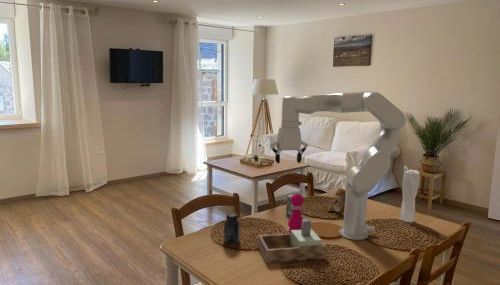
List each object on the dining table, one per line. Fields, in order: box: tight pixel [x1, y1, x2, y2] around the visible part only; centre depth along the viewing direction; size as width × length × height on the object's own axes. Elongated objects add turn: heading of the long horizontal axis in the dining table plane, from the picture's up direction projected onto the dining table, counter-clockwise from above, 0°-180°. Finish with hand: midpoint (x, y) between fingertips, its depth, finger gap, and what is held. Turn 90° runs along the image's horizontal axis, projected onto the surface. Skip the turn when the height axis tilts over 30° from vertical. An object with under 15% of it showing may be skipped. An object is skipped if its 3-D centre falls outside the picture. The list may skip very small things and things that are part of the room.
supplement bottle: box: [223, 212, 241, 245], centre depth 159 cm, size 7×7×12 cm
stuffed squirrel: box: [326, 187, 346, 214], centre depth 200 cm, size 10×14×13 cm
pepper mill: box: [287, 190, 305, 234], centre depth 168 cm, size 7×7×20 cm
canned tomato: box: [285, 193, 303, 219], centre depth 190 cm, size 8×8×11 cm
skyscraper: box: [398, 165, 420, 223], centre depth 186 cm, size 8×8×28 cm
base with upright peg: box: [290, 218, 322, 247], centre depth 151 cm, size 9×11×12 cm
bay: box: [257, 233, 327, 264], centre depth 150 cm, size 24×14×5 cm, turn 102°
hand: (288, 162), depth 166 cm, fingers open, 9 cm apart
